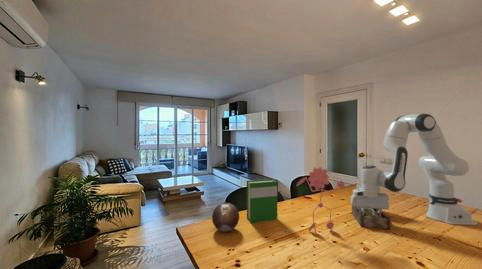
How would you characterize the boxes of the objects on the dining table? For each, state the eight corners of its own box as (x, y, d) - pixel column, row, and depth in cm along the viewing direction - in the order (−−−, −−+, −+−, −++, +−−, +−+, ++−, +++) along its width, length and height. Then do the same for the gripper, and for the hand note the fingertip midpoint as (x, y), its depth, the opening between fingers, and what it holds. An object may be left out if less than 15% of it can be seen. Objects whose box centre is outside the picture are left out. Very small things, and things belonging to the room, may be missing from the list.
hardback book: (250, 223, 125) (250, 183, 125) (246, 218, 132) (246, 180, 132) (277, 219, 130) (277, 181, 130) (272, 215, 137) (272, 178, 137)
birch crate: (372, 216, 132) (372, 208, 132) (379, 224, 121) (379, 215, 121) (360, 215, 134) (360, 207, 134) (366, 223, 122) (366, 214, 122)
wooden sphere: (214, 238, 107) (214, 209, 107) (210, 226, 121) (210, 200, 121) (242, 234, 111) (242, 206, 111) (235, 223, 125) (235, 198, 125)
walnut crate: (376, 215, 136) (376, 205, 135) (390, 229, 116) (390, 217, 116) (351, 213, 139) (351, 203, 139) (360, 226, 120) (360, 214, 119)
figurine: (349, 234, 110) (347, 168, 111) (302, 237, 107) (301, 169, 108) (333, 223, 125) (332, 164, 126) (291, 225, 123) (290, 165, 123)
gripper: (386, 192, 128) (386, 214, 128) (349, 189, 133) (350, 211, 133) (391, 195, 122) (391, 218, 122) (352, 192, 127) (352, 215, 127)
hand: (369, 214), depth 127 cm, fingers open, 8 cm apart
